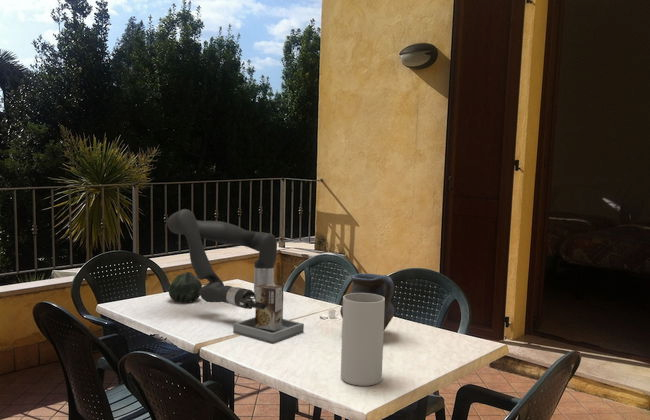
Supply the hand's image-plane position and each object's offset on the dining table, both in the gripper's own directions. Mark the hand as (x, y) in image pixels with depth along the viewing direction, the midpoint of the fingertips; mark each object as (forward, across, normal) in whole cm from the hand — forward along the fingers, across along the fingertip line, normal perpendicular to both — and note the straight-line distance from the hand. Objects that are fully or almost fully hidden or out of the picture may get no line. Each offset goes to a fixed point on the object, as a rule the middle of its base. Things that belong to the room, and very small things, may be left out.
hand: (271, 304), depth 204 cm
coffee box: (-1, 0, +9) cm, 9 cm away
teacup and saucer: (+2, +34, +12) cm, 36 cm away
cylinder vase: (+51, -16, +11) cm, 55 cm away
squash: (-63, +11, +12) cm, 65 cm away
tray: (-1, 0, +11) cm, 11 cm away
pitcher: (+31, +21, +11) cm, 39 cm away
